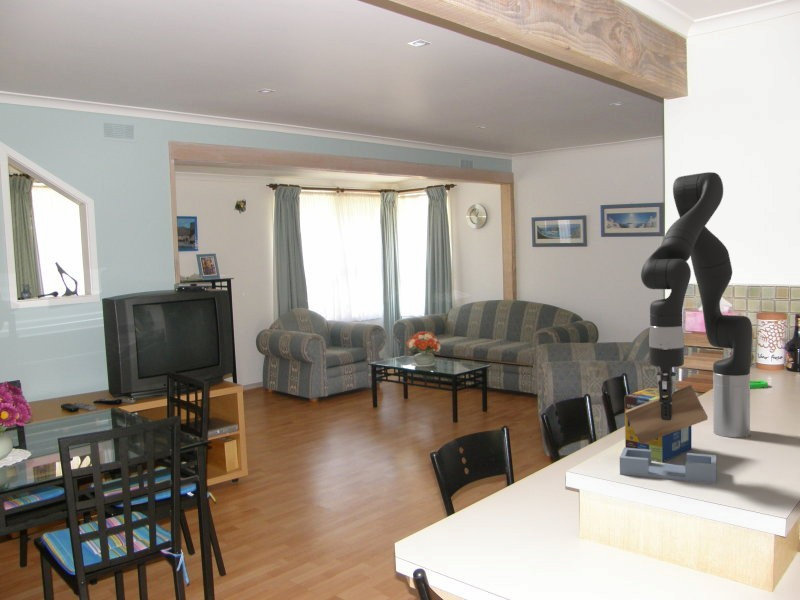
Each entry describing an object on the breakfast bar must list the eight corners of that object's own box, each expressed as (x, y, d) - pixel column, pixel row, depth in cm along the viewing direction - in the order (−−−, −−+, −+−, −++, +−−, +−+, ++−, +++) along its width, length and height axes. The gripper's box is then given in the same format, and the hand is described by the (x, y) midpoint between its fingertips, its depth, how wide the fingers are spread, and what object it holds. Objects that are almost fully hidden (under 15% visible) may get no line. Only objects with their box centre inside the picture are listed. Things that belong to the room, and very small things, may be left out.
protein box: (624, 454, 175) (623, 395, 174) (655, 441, 185) (655, 385, 184) (662, 463, 167) (661, 401, 166) (693, 449, 177) (692, 390, 176)
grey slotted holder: (624, 463, 168) (624, 447, 167) (716, 472, 159) (716, 455, 159) (619, 474, 160) (619, 457, 160) (715, 483, 151) (715, 466, 151)
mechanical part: (737, 390, 244) (737, 368, 243) (729, 387, 250) (729, 365, 249) (771, 389, 244) (771, 367, 243) (762, 385, 249) (762, 364, 249)
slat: (642, 441, 163) (626, 410, 164) (707, 416, 156) (690, 385, 157) (640, 444, 160) (624, 413, 161) (707, 419, 153) (690, 387, 154)
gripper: (652, 340, 165) (652, 410, 166) (646, 348, 153) (646, 424, 154) (685, 341, 162) (685, 412, 163) (682, 349, 149) (682, 426, 151)
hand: (666, 417), depth 158 cm, fingers closed on slat, 3 cm apart
